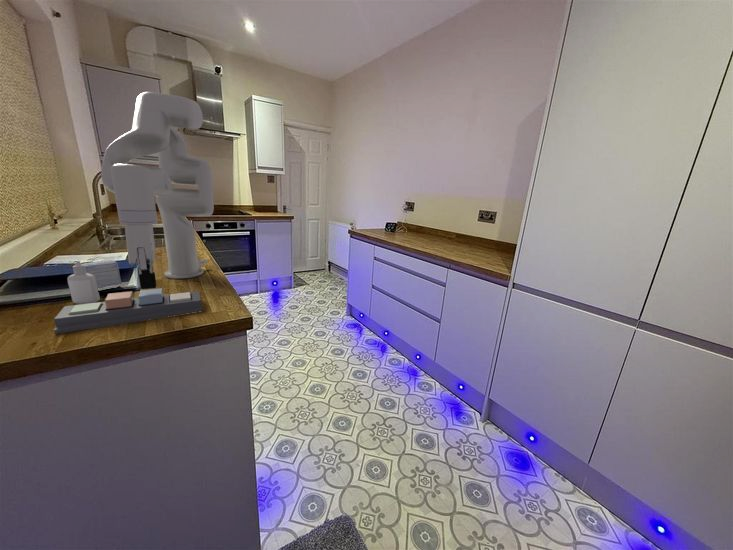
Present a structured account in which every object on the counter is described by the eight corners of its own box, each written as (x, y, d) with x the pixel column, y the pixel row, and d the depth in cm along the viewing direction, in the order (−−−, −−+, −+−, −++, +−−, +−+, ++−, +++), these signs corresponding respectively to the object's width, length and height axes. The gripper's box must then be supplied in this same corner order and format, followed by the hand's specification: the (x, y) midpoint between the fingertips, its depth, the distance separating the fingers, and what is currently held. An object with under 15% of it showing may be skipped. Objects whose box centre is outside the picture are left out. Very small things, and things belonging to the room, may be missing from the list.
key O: (133, 299, 77) (132, 291, 77) (131, 306, 73) (129, 297, 73) (110, 302, 75) (108, 293, 74) (106, 309, 71) (104, 300, 70)
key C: (103, 310, 74) (101, 302, 74) (99, 317, 71) (97, 309, 70) (77, 313, 72) (75, 304, 71) (72, 321, 68) (69, 312, 67)
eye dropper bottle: (84, 306, 79) (74, 264, 75) (70, 302, 80) (60, 261, 76) (102, 300, 83) (94, 260, 79) (88, 297, 84) (79, 257, 81)
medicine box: (116, 284, 95) (111, 259, 93) (122, 287, 93) (117, 261, 91) (84, 290, 89) (78, 263, 86) (90, 294, 87) (84, 266, 84)
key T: (163, 296, 81) (161, 288, 80) (162, 302, 77) (161, 294, 76) (141, 298, 78) (140, 290, 77) (139, 305, 74) (138, 296, 74)
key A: (190, 299, 85) (189, 292, 84) (191, 305, 81) (190, 297, 80) (171, 302, 82) (170, 294, 82) (171, 308, 78) (169, 300, 78)
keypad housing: (199, 298, 89) (198, 289, 88) (202, 312, 80) (201, 302, 79) (69, 314, 73) (66, 303, 73) (55, 333, 65) (51, 321, 64)
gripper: (123, 214, 75) (134, 281, 80) (113, 220, 63) (126, 298, 68) (158, 215, 79) (166, 278, 84) (155, 220, 67) (165, 294, 72)
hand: (148, 287), depth 76 cm, fingers closed
